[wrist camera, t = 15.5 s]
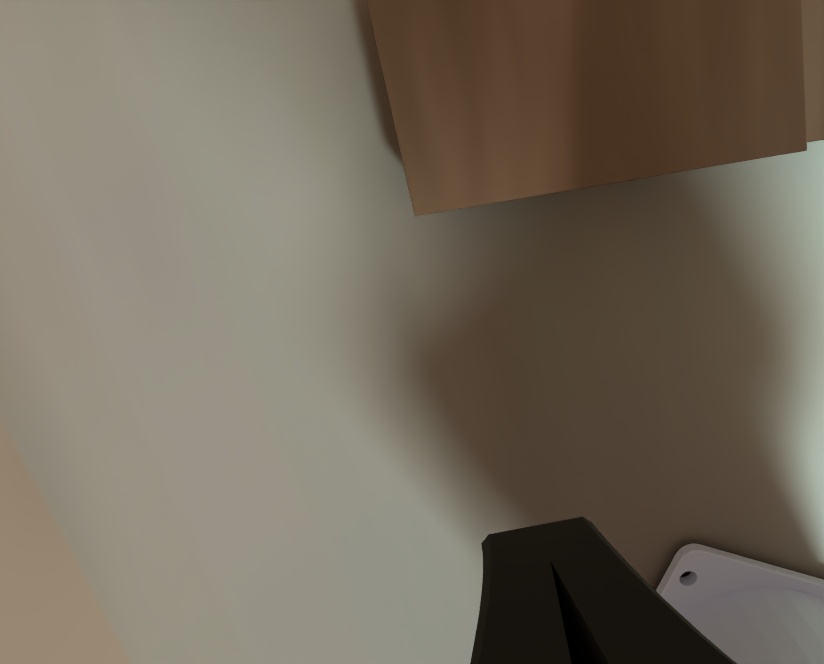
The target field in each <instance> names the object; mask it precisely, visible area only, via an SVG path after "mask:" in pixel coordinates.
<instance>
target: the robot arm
mask: <svg viewBox="0 0 824 664" xmlns="http://www.w3.org/2000/svg"><path fill="white" fill-rule="evenodd" d="M481 544H482V551H483V583H482V594H481V603H480V612H479V618H478V624H477V630H476V635H475V641H474V647H473V652H472V658H471V663H470V664H824V580H823V579H820V578H816V577H813V576H809V575H806V574H802V573H799V572H795V571H792V570H788V569H785V568H781V567H778V566H774V565H771V564H767V563H764V562H760V561H757V560H753V559H750V558H746V557H743V556H739V555H736V554H732V553H729V552H725V551H722V550H718V549H715V548H711V547H708V546H704V545H701V544H693V543H692V544H688V545H685V546H683V547H682V548H680V549H679V550H678V552H677V553H676V555H675V556H674V558H673V560H672V562H671V564H670V565H669V567H668V569H667V571H666V573H665V575H664V576H663V578H662V580H661V582H660V584H659V586H658V587H657V589H656V591H655V590H654V589H653V588H652V587H651V586H650V585H649V584H648V583H647V582H646V581H645V580H644V579H643V578H642V577H641V576H640V575H639V574H638V573H637V572H636V571H635V570H634V569H633V568H632V567H631V566H630V565H629V564H628V563H627V561H626V560H625V559H624V558H623V557H622V556H621V555H620V554H619V553H618V552H617V551H616V550H615V549H614V548H613V546H612V545H611V544H610V543H609V542H608V541H607V540H606V539H605V538H604V536H603V535H602V534H601V533H600V532H599V531H598V530H597V528H596V527H595V526H594V525H593V523H591V522H590V521H588V520H587V519H585V518H584V517H579V518H573V519H568V520H563V521H558V522H552V523H547V524H542V525H536V526H531V527H526V528H521V529H515V530H510V531H505V532H499V533H494V534H489V535H488V536H487V537H486V539H485V540H484V541H483V542H482V543H481ZM687 571H691V573H690V574H689V575H688V576H686V577H680V576H681V575H682V574H683V573H685V572H687Z"/></svg>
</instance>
